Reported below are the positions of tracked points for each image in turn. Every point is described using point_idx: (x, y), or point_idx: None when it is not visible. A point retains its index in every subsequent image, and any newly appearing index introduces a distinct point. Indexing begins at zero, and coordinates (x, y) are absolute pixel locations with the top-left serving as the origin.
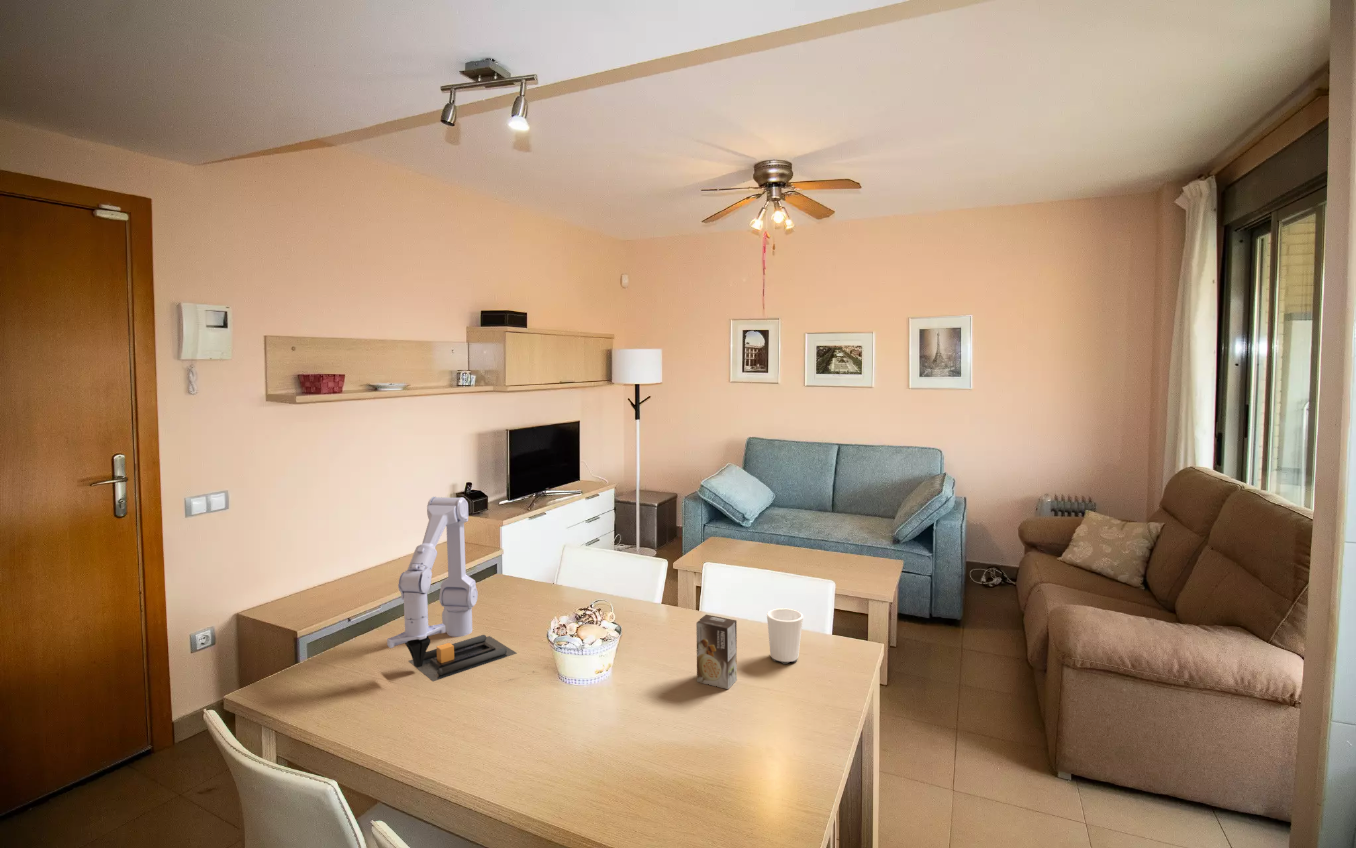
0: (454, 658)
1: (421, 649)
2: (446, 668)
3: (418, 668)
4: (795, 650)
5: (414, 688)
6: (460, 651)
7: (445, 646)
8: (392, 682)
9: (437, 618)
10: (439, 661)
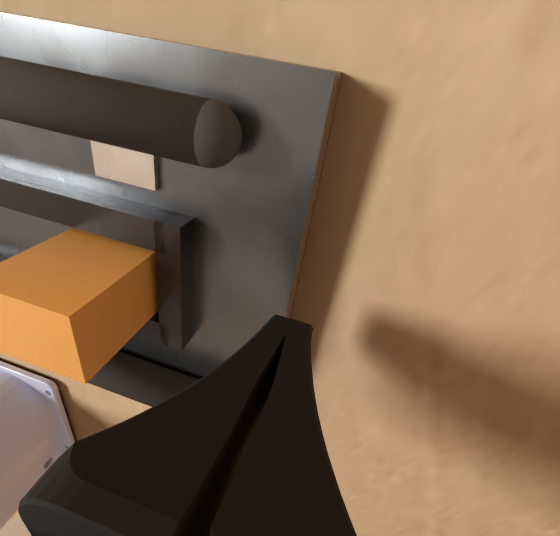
0: None
1: (226, 439)
2: (155, 103)
3: None
4: None
5: (437, 187)
6: None
7: (24, 329)
8: (441, 365)
9: None
10: (151, 283)
